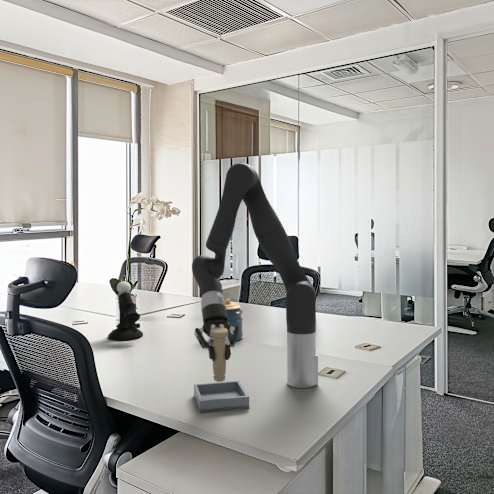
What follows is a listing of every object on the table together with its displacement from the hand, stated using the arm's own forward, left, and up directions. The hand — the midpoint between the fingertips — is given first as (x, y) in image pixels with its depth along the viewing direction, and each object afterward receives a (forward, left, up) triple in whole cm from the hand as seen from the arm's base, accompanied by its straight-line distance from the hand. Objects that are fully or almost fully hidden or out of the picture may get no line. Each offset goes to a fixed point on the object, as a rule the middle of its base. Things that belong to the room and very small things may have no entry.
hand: (220, 358), depth 147 cm
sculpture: (+27, -86, -14) cm, 91 cm away
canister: (-16, -75, -14) cm, 78 cm away
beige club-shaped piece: (0, -2, -7) cm, 7 cm away
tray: (0, -2, -13) cm, 14 cm away
